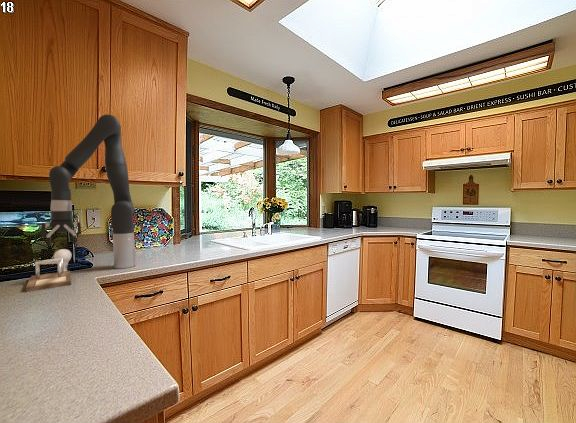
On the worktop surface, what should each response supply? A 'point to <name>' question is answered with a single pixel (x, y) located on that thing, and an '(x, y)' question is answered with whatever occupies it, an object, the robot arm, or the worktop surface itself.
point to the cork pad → (50, 281)
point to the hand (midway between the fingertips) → (62, 244)
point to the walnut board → (33, 279)
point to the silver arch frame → (50, 261)
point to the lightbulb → (66, 257)
